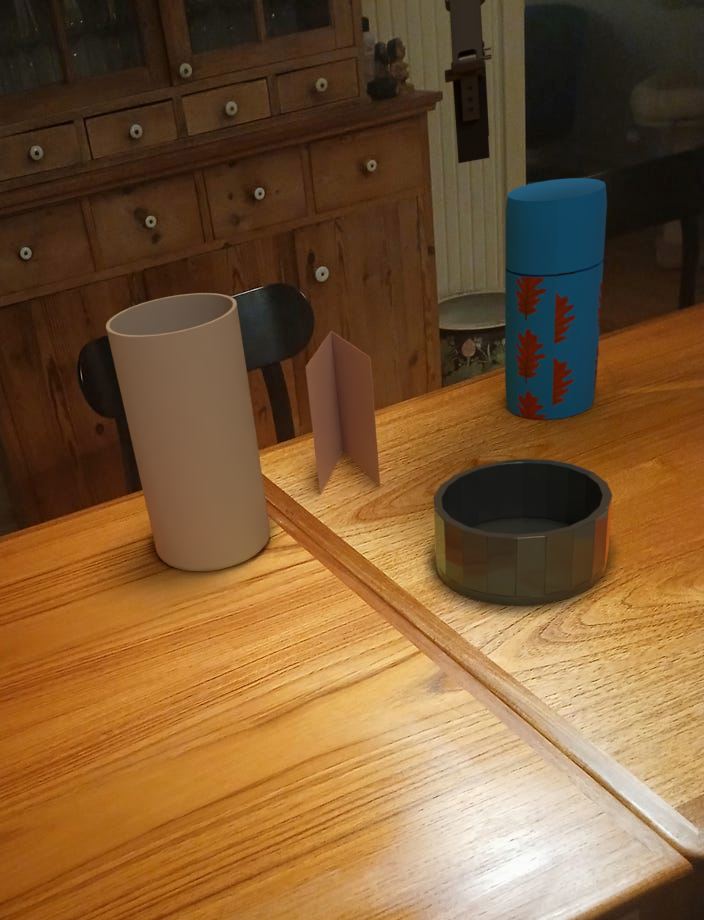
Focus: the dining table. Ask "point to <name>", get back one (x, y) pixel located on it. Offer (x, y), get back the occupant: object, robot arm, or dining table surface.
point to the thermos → (553, 296)
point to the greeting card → (342, 408)
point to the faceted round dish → (522, 531)
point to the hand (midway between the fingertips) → (474, 148)
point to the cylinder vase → (192, 428)
